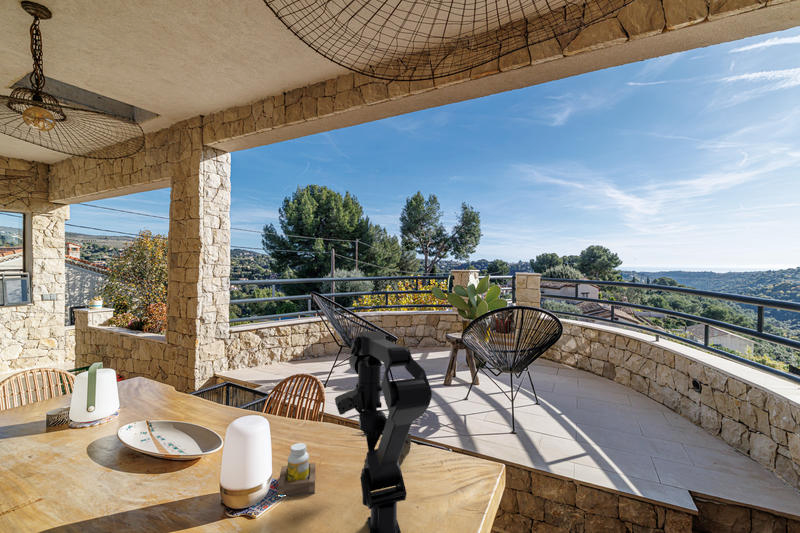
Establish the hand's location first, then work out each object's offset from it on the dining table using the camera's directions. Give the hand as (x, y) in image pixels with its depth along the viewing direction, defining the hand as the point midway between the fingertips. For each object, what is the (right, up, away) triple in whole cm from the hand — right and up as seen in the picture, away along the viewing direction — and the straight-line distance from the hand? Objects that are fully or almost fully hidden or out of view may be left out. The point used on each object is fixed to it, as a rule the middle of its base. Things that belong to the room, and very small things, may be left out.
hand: (368, 443), depth 87 cm
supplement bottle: (-19, -13, +3) cm, 23 cm away
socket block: (-19, -13, +3) cm, 23 cm away
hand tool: (+8, -14, +18) cm, 24 cm away
